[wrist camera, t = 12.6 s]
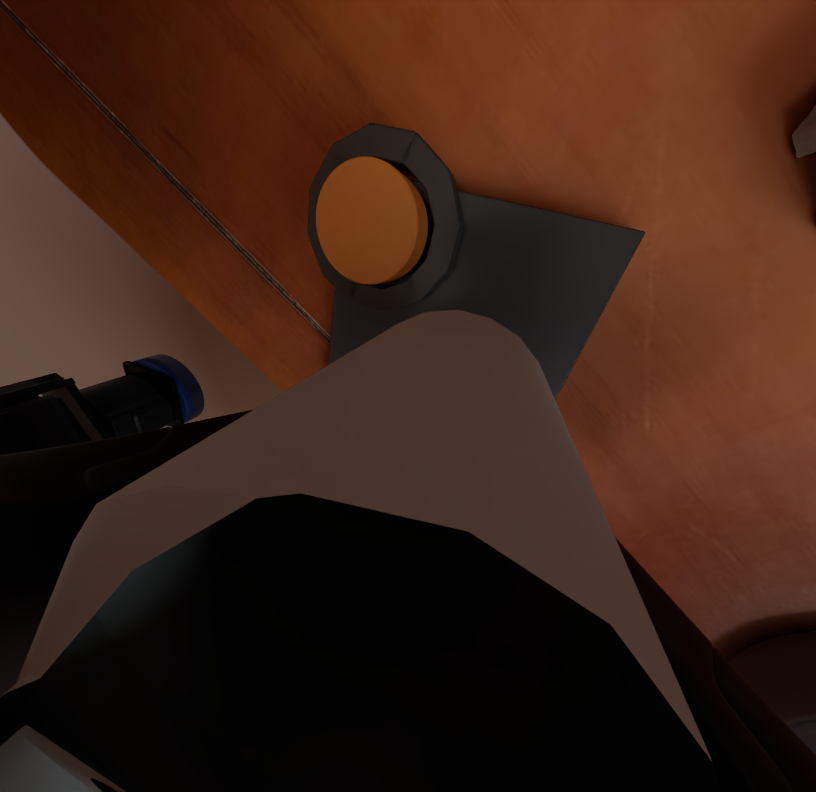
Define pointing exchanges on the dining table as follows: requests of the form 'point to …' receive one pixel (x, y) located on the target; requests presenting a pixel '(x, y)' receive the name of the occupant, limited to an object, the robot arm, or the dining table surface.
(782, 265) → the dining table surface
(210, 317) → the dining table surface
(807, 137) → the egg carton
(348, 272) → the button
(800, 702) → the vase
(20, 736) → the can
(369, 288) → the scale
